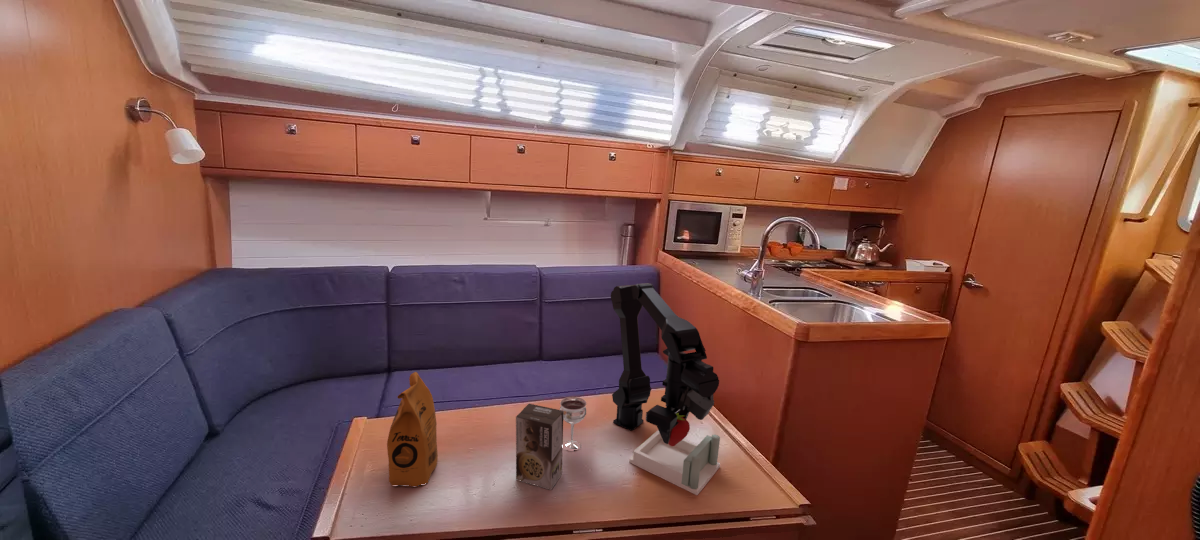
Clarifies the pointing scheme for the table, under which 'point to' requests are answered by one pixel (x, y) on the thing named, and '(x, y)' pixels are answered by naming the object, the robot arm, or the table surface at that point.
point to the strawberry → (679, 430)
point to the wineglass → (573, 415)
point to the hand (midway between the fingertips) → (672, 436)
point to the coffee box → (539, 445)
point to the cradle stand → (679, 461)
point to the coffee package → (413, 436)
